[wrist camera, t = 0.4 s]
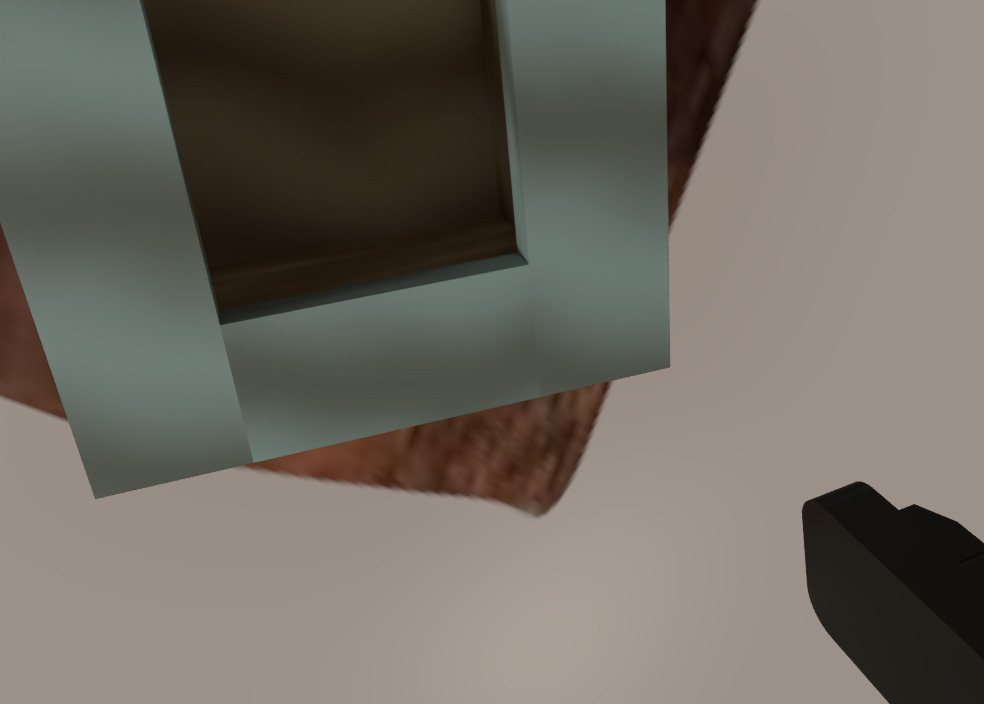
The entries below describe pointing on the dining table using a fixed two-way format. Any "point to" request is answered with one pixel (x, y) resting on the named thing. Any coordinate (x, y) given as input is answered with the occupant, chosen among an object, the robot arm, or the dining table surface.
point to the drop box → (328, 214)
